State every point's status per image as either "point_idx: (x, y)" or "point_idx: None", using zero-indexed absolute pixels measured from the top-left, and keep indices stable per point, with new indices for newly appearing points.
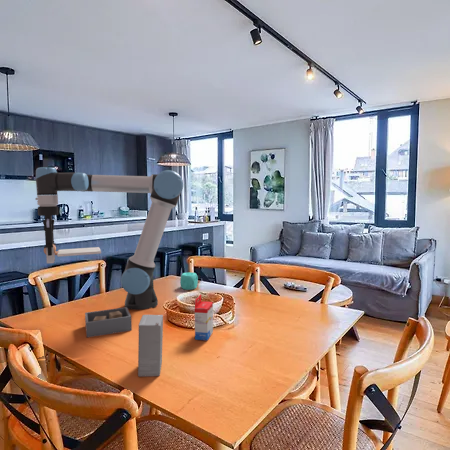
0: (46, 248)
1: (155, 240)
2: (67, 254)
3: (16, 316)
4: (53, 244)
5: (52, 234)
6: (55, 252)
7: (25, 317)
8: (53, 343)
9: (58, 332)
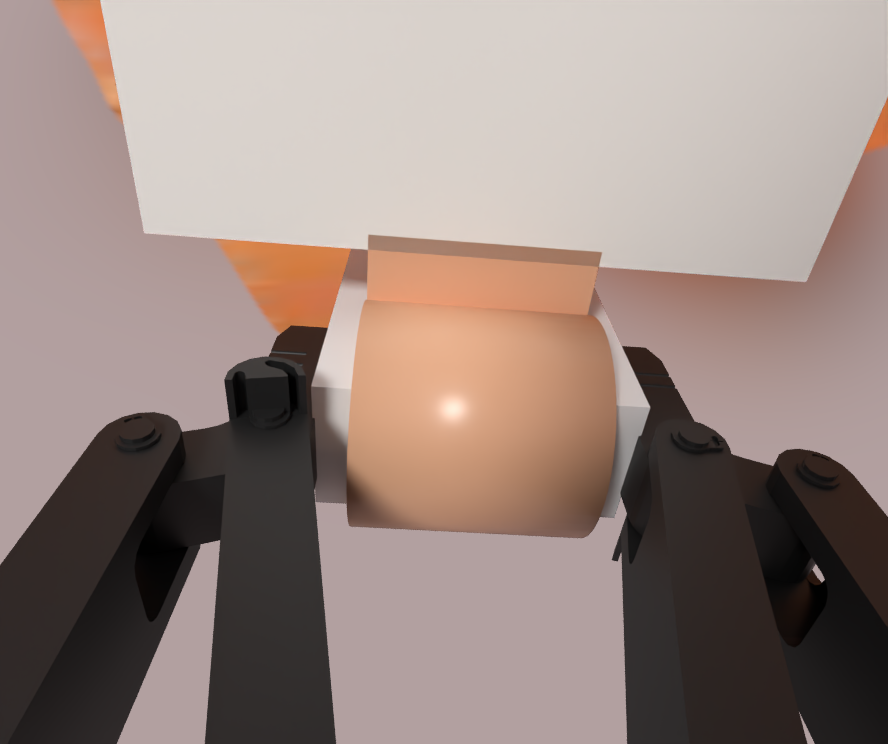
0: (609, 498)
1: None
2: (885, 71)
3: (275, 318)
4: (374, 416)
5: (325, 668)
6: (541, 303)
7: (316, 273)
8: (877, 126)
9: None
